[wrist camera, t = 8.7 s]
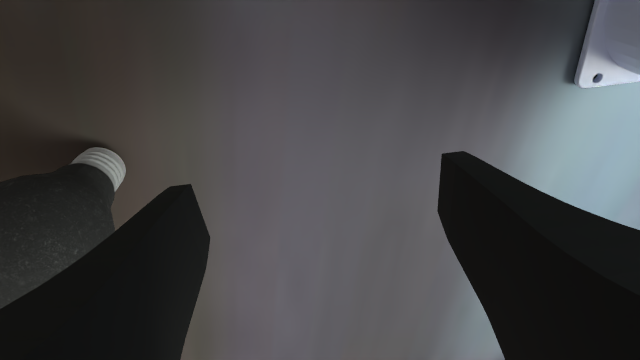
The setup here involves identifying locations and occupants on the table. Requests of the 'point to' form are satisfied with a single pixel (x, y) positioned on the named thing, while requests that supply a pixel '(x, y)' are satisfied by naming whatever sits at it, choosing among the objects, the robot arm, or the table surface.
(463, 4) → the table surface
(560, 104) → the table surface
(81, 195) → the light bulb
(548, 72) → the table surface
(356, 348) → the table surface
